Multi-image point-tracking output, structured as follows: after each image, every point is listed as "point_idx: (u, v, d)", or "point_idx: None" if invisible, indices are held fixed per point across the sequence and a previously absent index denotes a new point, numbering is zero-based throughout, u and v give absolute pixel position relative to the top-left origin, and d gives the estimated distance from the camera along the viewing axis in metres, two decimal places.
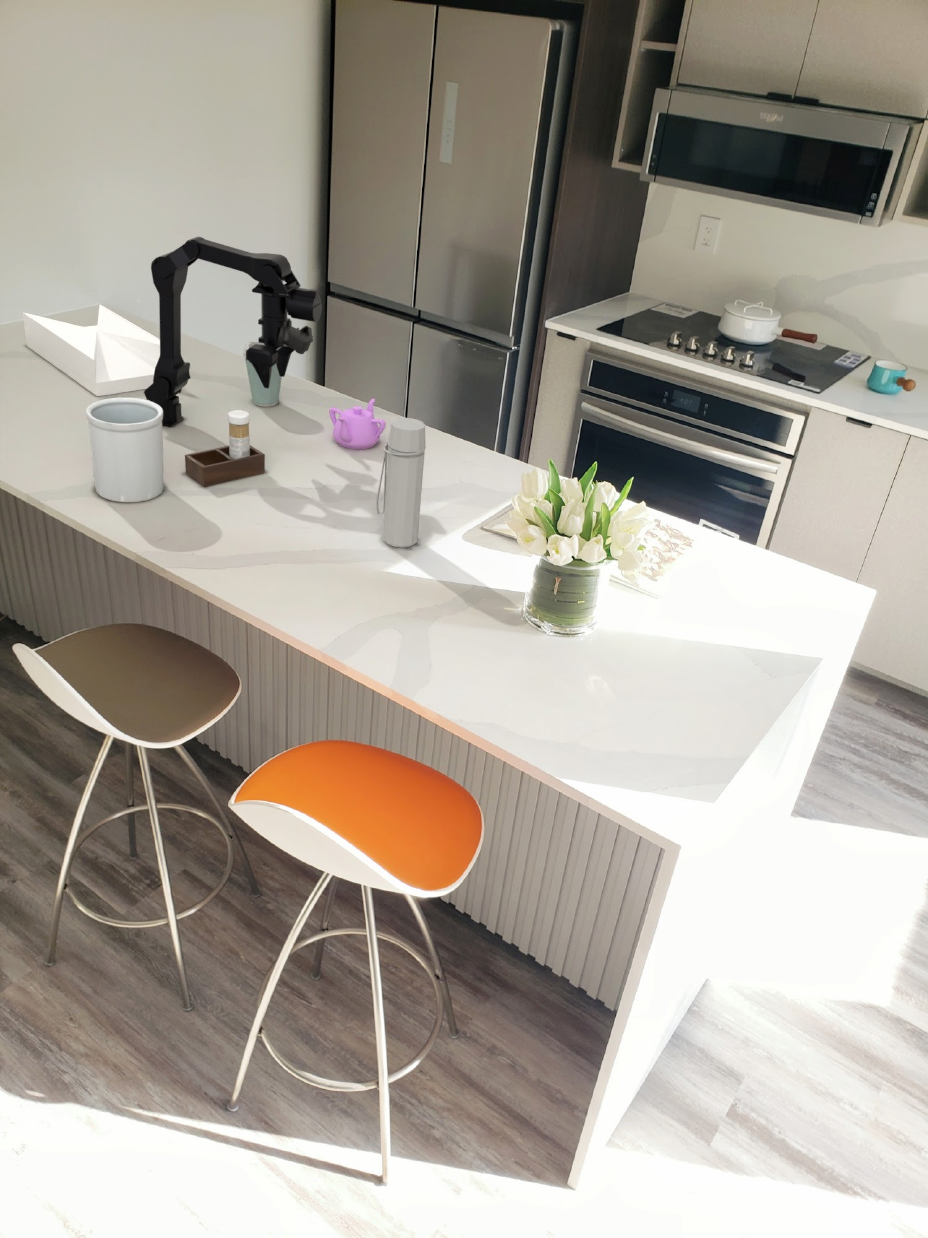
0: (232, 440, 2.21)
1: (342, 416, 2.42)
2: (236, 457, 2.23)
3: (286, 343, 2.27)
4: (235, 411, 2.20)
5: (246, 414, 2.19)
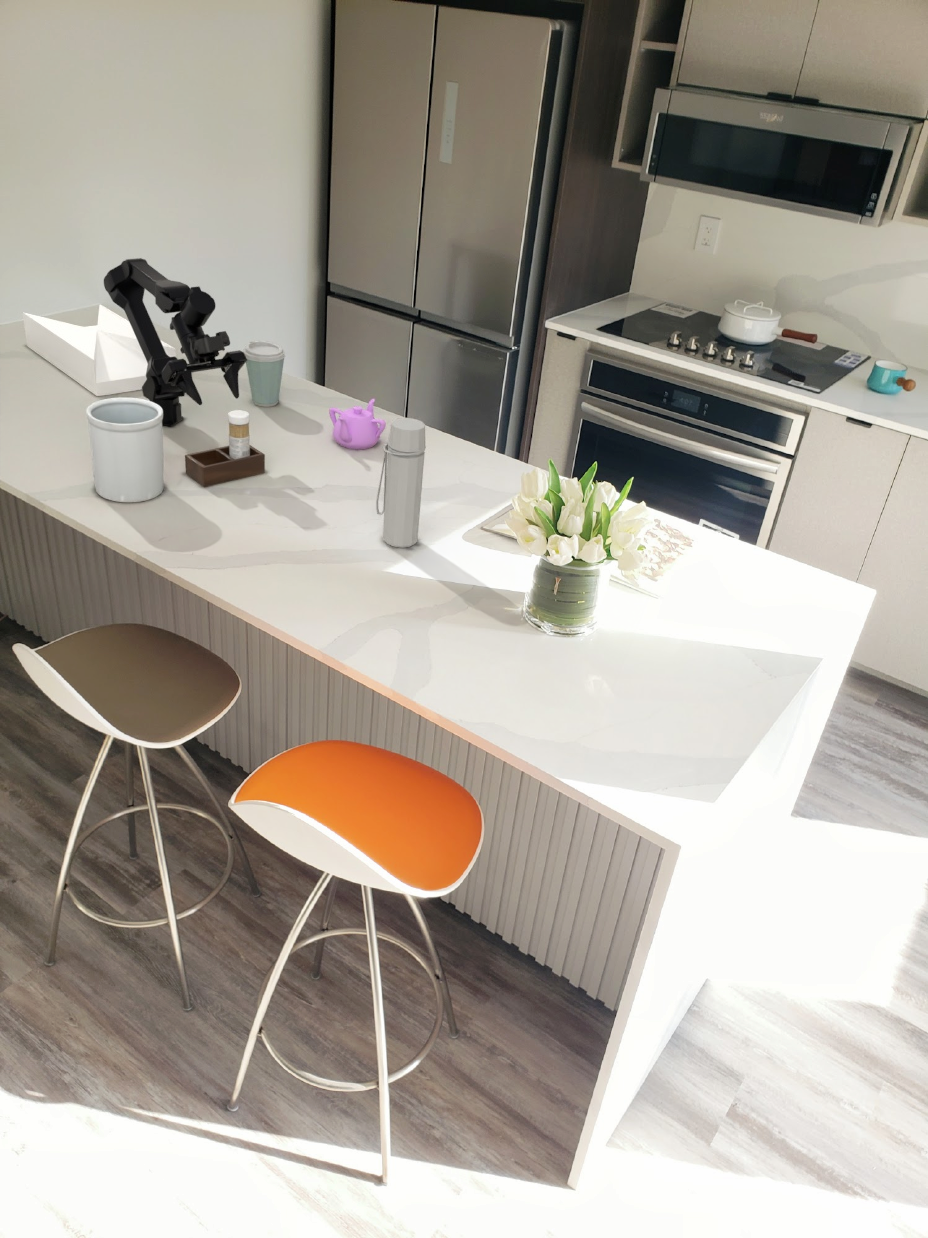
0: (232, 440, 2.21)
1: (342, 416, 2.42)
2: (236, 457, 2.23)
3: (197, 351, 2.20)
4: (235, 411, 2.20)
5: (246, 414, 2.19)
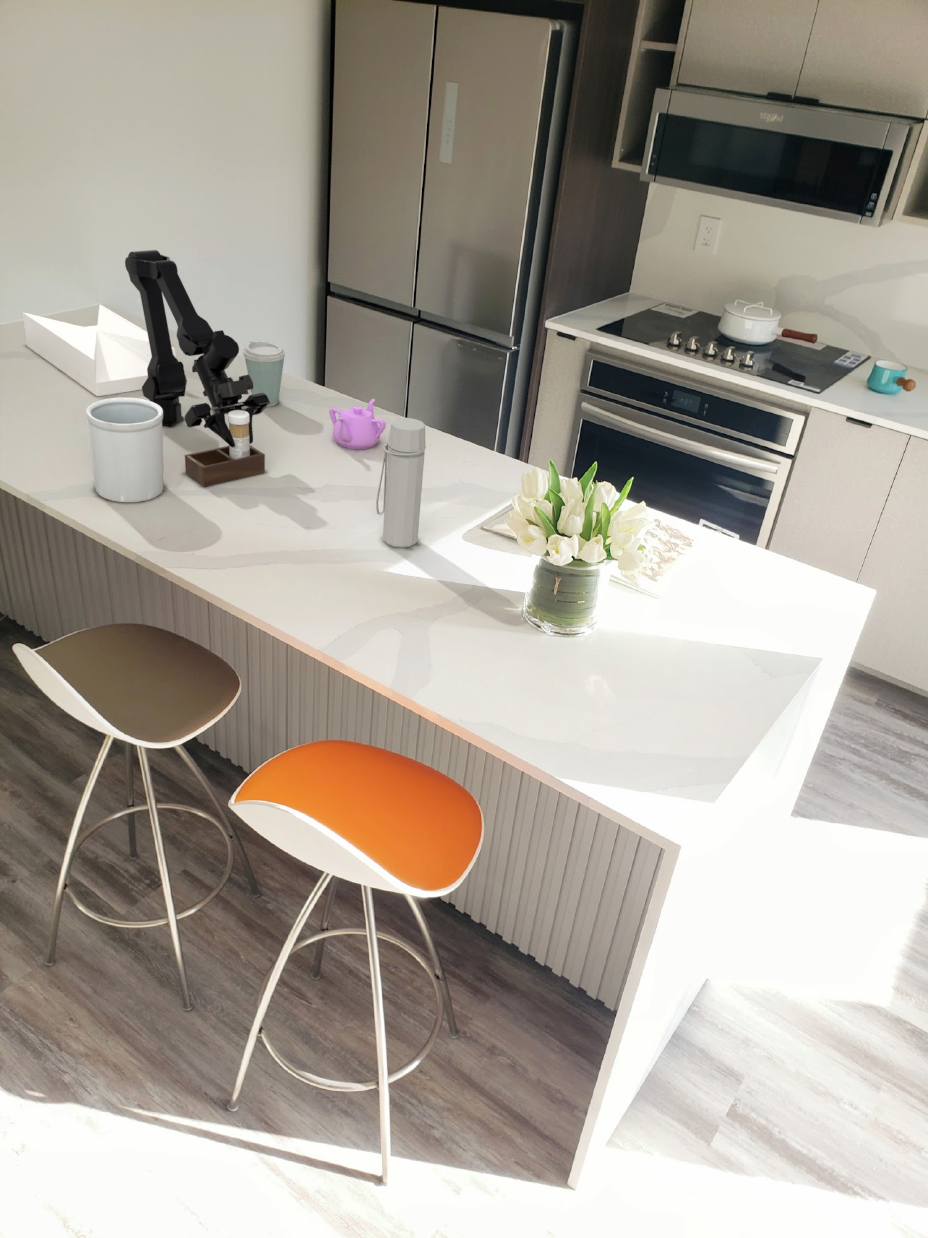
0: None
1: (342, 416, 2.42)
2: (236, 457, 2.23)
3: (221, 395, 2.18)
4: (235, 411, 2.20)
5: (246, 414, 2.19)
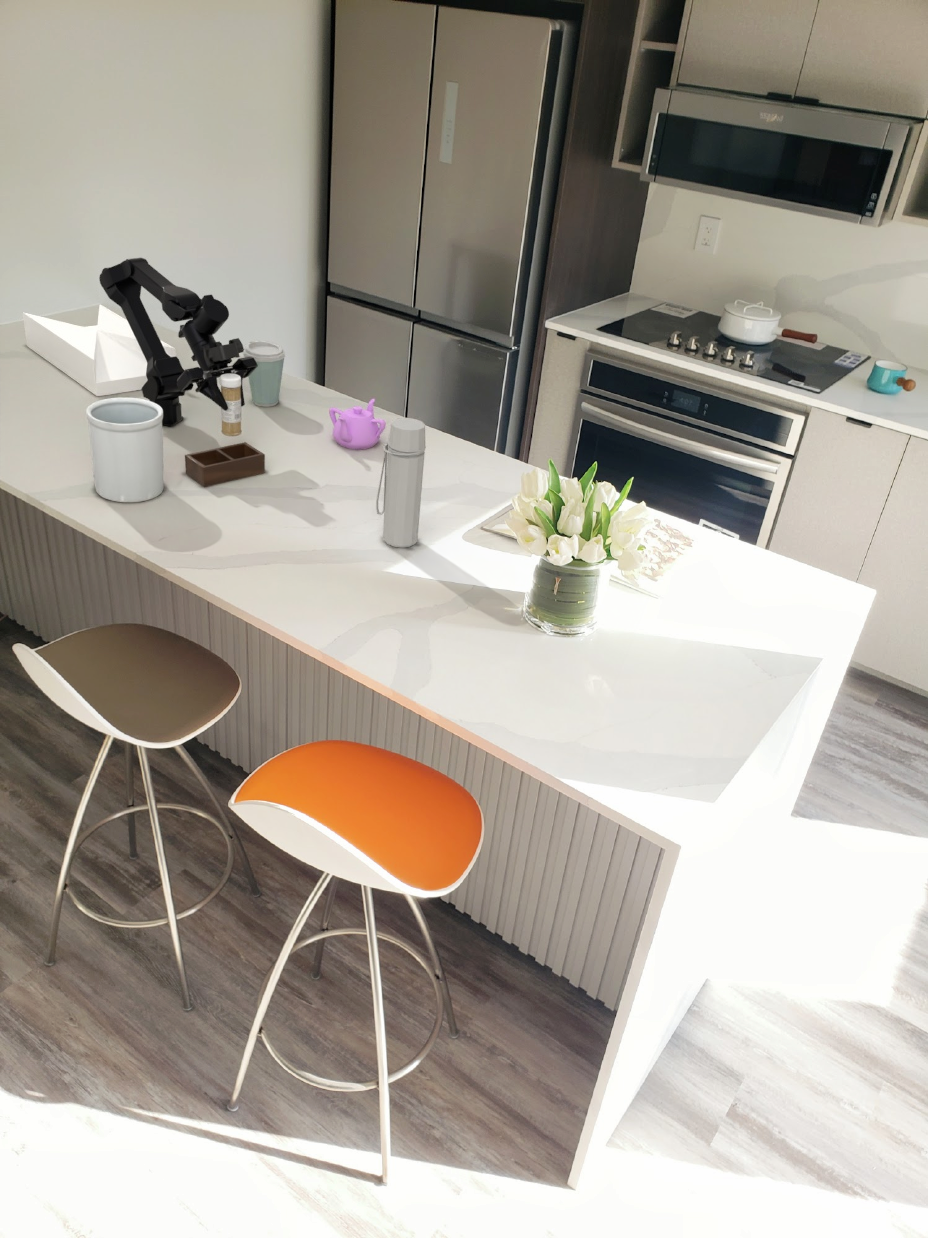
0: None
1: (342, 416, 2.42)
2: (229, 420, 2.26)
3: (212, 359, 2.22)
4: (226, 374, 2.24)
5: (238, 377, 2.23)
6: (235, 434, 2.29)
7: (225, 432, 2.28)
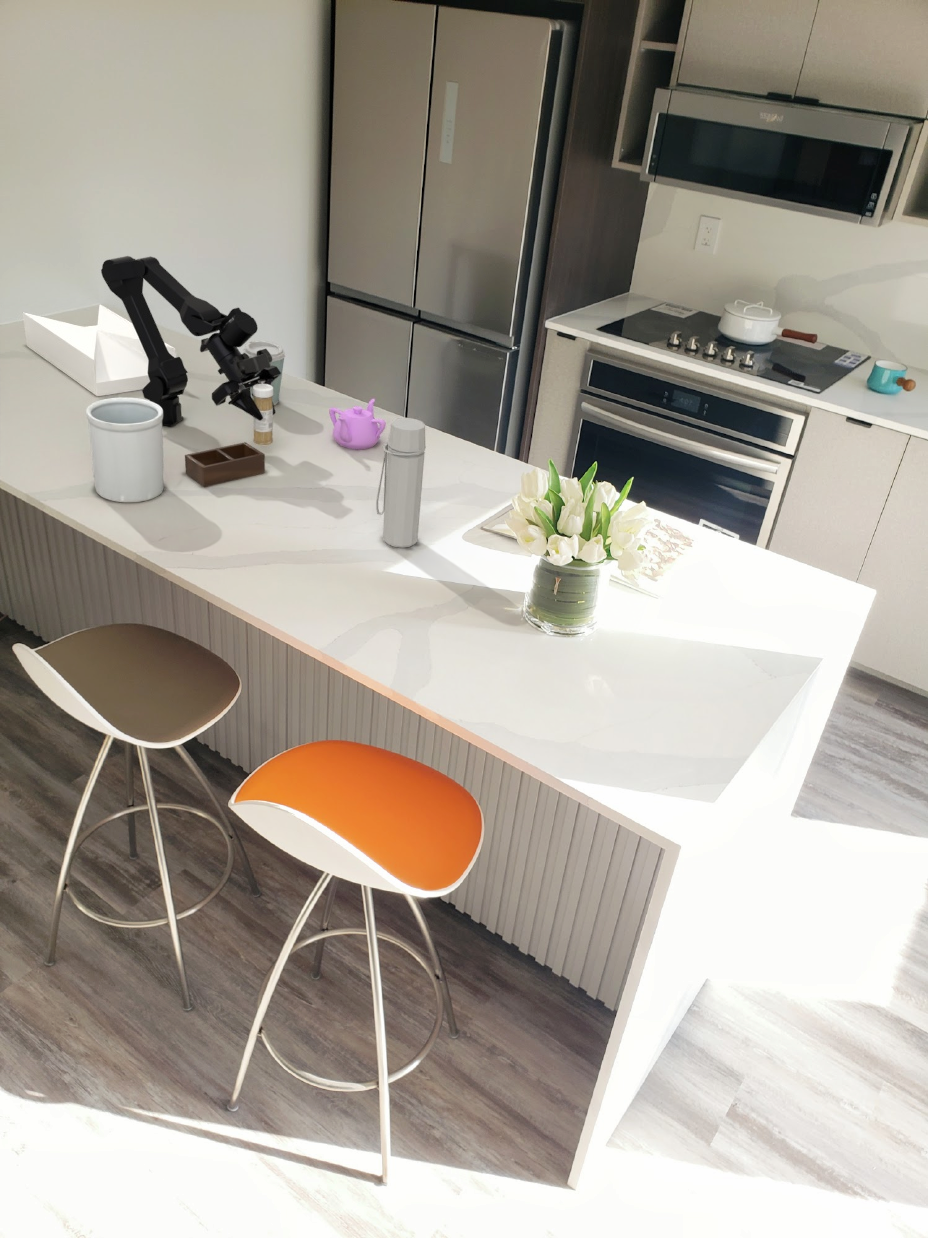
0: None
1: (342, 416, 2.42)
2: (263, 429, 2.31)
3: (244, 371, 2.25)
4: (258, 385, 2.28)
5: (270, 387, 2.28)
6: (268, 443, 2.33)
7: (259, 442, 2.32)
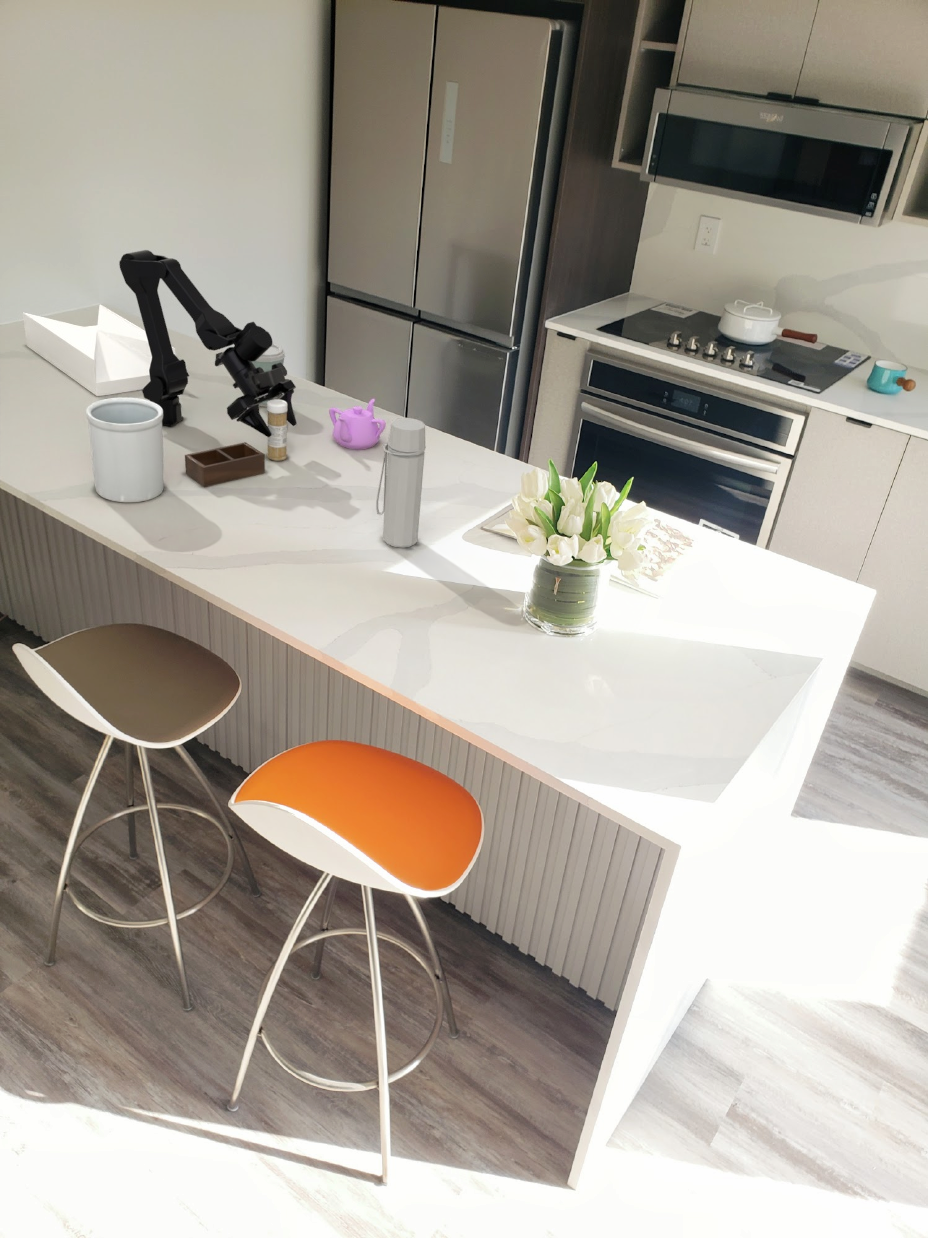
0: (273, 429, 2.29)
1: (342, 416, 2.42)
2: (277, 445, 2.31)
3: (260, 385, 2.25)
4: (272, 401, 2.28)
5: (285, 402, 2.28)
6: (283, 458, 2.33)
7: (273, 457, 2.32)
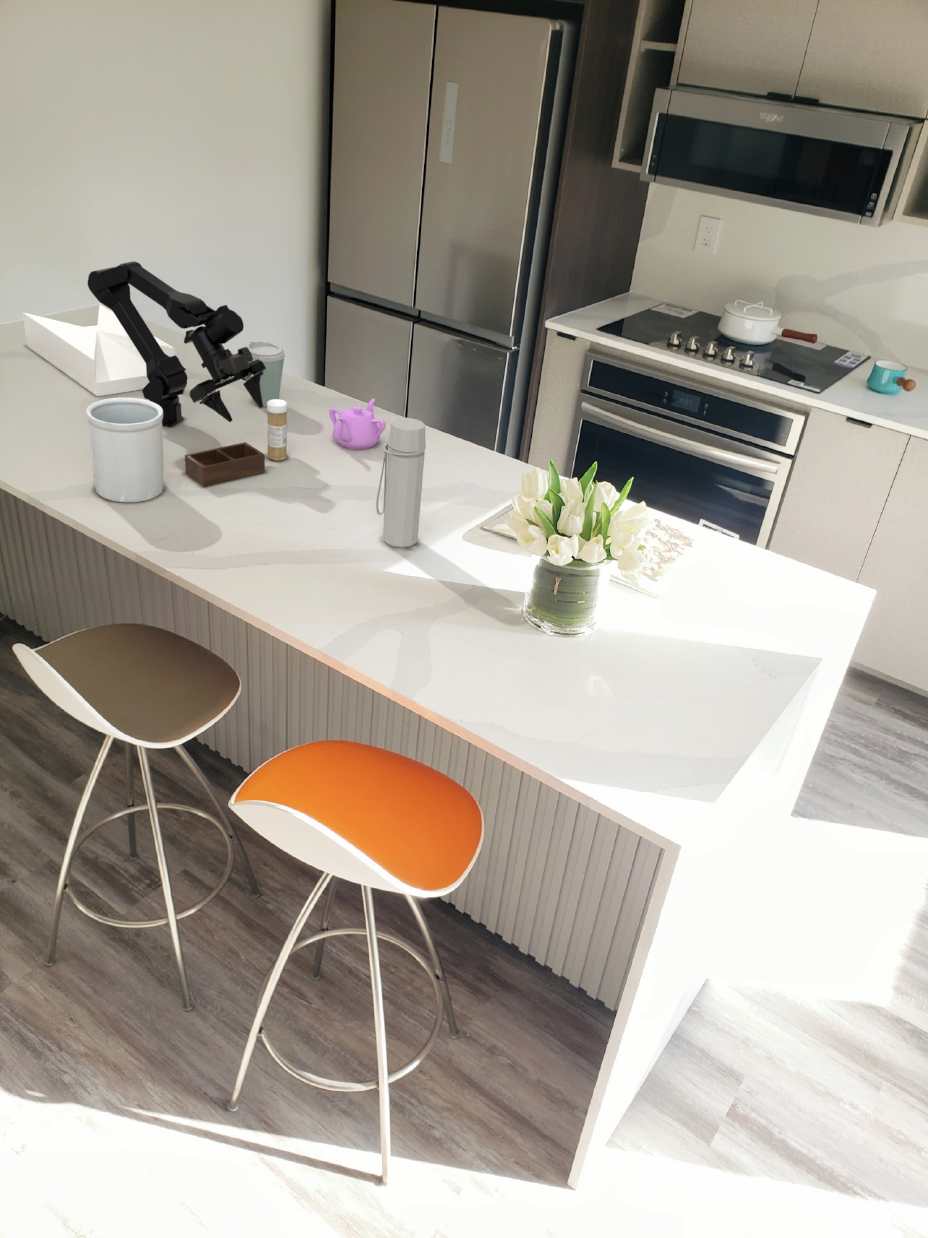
0: (273, 429, 2.29)
1: (342, 416, 2.42)
2: (277, 445, 2.31)
3: (223, 371, 2.27)
4: (272, 401, 2.28)
5: (285, 402, 2.28)
6: (283, 458, 2.33)
7: (273, 457, 2.32)
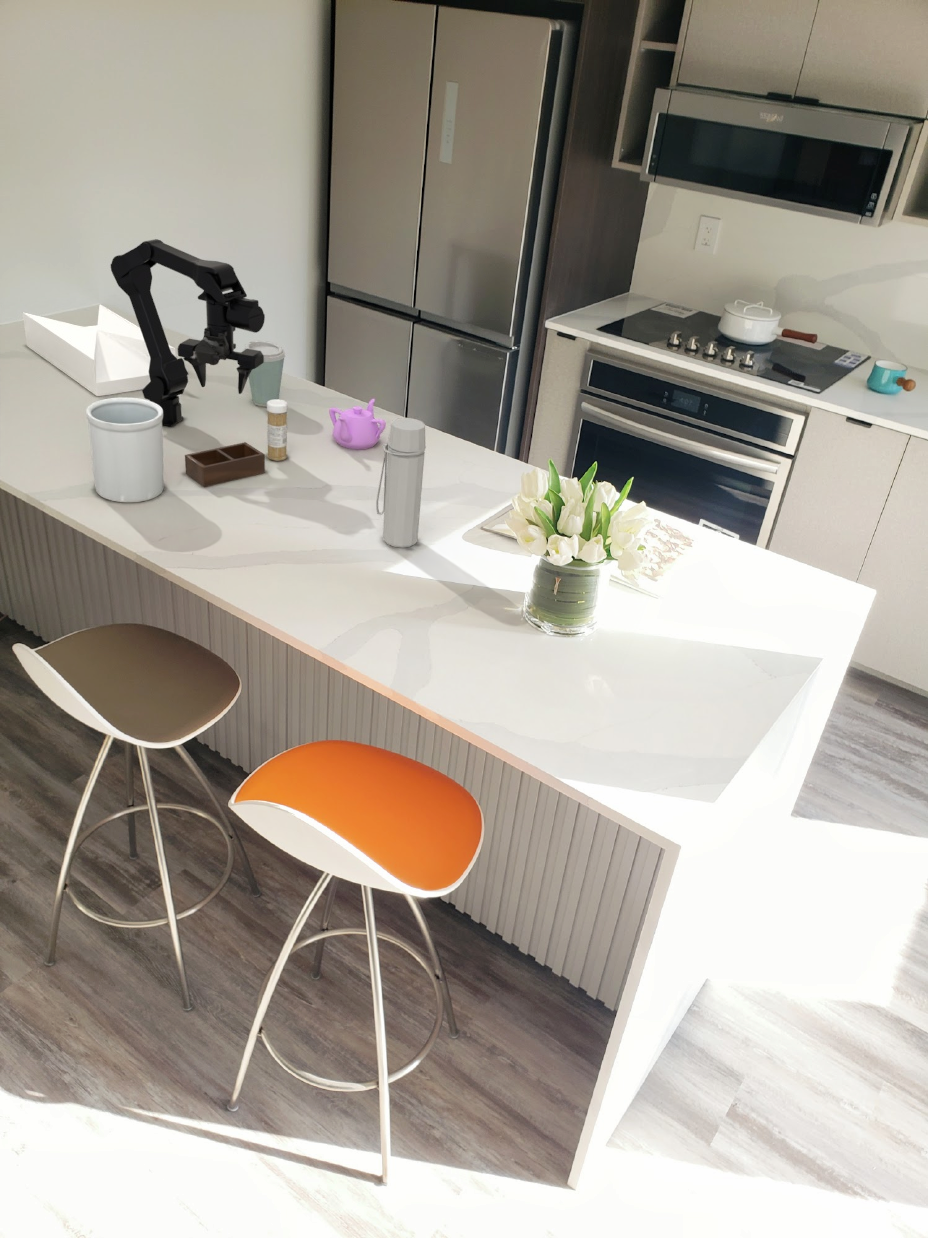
0: (273, 429, 2.29)
1: (342, 416, 2.42)
2: (277, 445, 2.31)
3: None
4: (272, 401, 2.28)
5: (285, 402, 2.28)
6: (283, 458, 2.33)
7: (273, 457, 2.32)
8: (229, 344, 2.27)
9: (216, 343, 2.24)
